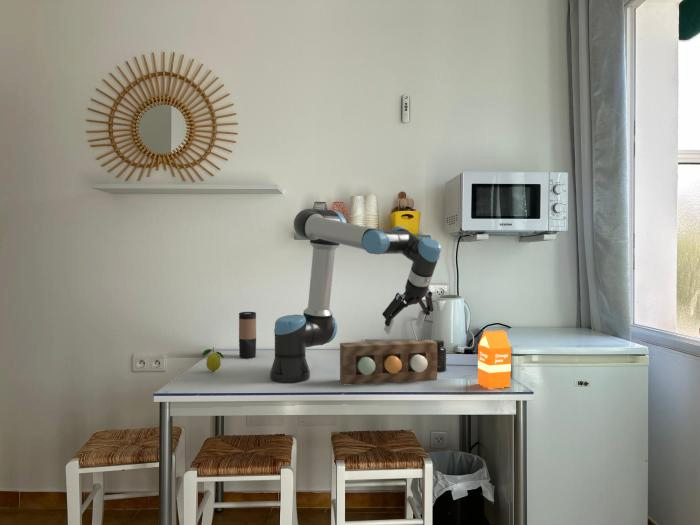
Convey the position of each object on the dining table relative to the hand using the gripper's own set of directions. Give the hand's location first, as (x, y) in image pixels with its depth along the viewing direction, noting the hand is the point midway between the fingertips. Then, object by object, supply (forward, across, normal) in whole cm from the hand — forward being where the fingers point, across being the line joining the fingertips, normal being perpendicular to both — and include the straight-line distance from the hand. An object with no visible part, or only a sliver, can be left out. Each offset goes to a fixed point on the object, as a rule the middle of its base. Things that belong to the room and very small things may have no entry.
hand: (402, 328), depth 185 cm
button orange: (+16, -3, -5) cm, 17 cm away
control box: (+22, -2, -3) cm, 23 cm away
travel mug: (+54, -37, +51) cm, 83 cm away
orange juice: (+12, +28, -25) cm, 39 cm away
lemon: (+41, -57, +34) cm, 78 cm away
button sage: (+17, -12, -2) cm, 21 cm away
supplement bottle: (+26, +24, -1) cm, 36 cm away
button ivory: (+16, +7, -8) cm, 19 cm away
